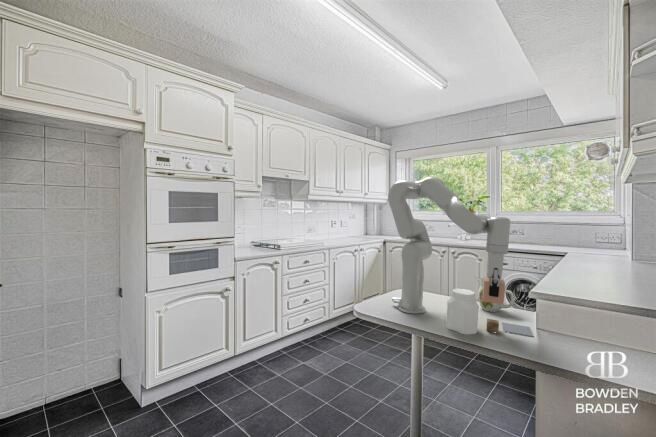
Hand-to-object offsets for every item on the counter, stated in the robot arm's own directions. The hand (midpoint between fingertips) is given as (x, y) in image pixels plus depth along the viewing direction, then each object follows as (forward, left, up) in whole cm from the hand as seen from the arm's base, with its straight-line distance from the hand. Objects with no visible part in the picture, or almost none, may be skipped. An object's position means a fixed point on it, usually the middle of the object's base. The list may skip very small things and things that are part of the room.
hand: (493, 293), depth 125 cm
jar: (-11, -4, -15) cm, 19 cm away
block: (0, 0, -15) cm, 15 cm away
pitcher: (+1, +27, -15) cm, 31 cm away
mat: (+9, +6, -15) cm, 19 cm away
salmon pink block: (0, 0, -3) cm, 3 cm away
